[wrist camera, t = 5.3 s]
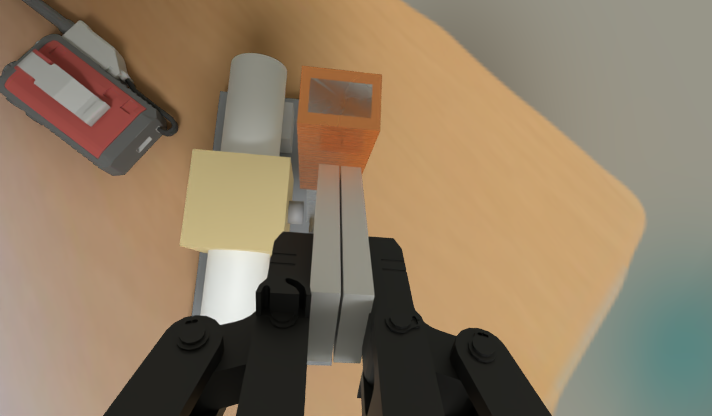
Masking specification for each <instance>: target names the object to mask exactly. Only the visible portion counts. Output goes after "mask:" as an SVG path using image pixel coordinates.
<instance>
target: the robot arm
mask: <svg viewBox="0 0 712 416" xmlns="http://www.w3.org/2000/svg"><path fill="white" fill-rule="evenodd" d="M333 344H334V362H341V363H360V362H361V357H362V359H363V372H362V376H361V381H360V385H359V390H358V395H357V398H361V401H362V416H552V415H551V414H550V412H549V411H548V409H547V408H546V406H545V405H544V403H543V402H542V400H541V399H540V397H539V396H538V394H537V393H536V391H535V390H534V388H533V387H532V386H531V384H530V383H529V381H528V380H527V378H526V377H525V375H524V374H523V372H522V371H521V369H520V368H519V366H518V365H517V363H516V362H515V360H514V359H513V357H512V356H511V354H510V353H509V351H508V350H507V348H506V347H505V345H504V344H503V343H502V342H501V341H500V340H499V339H498V338H497V337H496V336H494V335H493V334H491V333H490V332H488V331H485V330H482V329H479V328H468V329H465V330H462V331H461V332H460V333H459V334H458V335H457V336H454V335H451V334H448V333H445V332H442V331H439V330H437V329H434V328H432V327H430V326H429V325H427V324H426V323H425V322H424V321H423V319H422V317H421V316H420V315H419V314H418V313H417V312H416V311H415V308H414V305H413V300H412V295H411V291H410V286H409V281H408V276H407V272H406V267H405V263H404V257H403V253H402V249H401V247H400V246H399V245H398V244H397V242H396V241H395V240H394V238H381V237H368V229H367V220H366V211H365V202H364V192H363V183H362V174H361V168H360V167H349V166H341V170H340V179H339V166H338V165H327V164H319V170H318V182H317V194H316V206H315V219H314V231H313V234H312V233H299V232H285V231H283V232H282V233H281V234H280V235H279V236H278V237H277V238H276V240H275V241H274V245H273V250H272V255H271V260H270V265H269V270H268V275H267V279H265V280H264V281H263V282H262V283H260V284H259V286H258V288H257V290H256V311H255V312H254V313H253V314H251V315H250V316H248V317H246V318H244V319H242V320H239V321H236V322H231V323H227V324H222V325H220V324H219V323H218V322H217V321H216V320H215V319H213V318H210V317H208V316H201V315H194V316H190V317H185V318H183V319H181V320H179V321H177V322H175V323H174V324H173V325H171V326H170V327H169V328H168V329H167V330H166V331H165V333H164V334H163V335H162V337H161V338H160V340H159V341H158V342H157V344H156V345H155V346H154V348H153V349H152V350H151V352H150V353H149V354H148V356H147V357H146V358H145V360H144V361H143V362H142V364H141V365H140V367H139V368H138V369H137V371H136V372H135V373H134V375H133V376H132V377H131V379H130V380H129V381H128V383H127V384H126V385H125V387H124V388H123V389H122V391H121V392H120V394H119V395H118V396H117V398H116V399H115V400H114V402H113V403H112V404H111V406H110V407H109V408H108V410H107V411H106V412H105V414H104V415H103V416H223V414H224V412H225V410H226V407H228V406H232V405H235V404H238V408H237V413H236V416H304V406H305V389H306V371H307V361H316V362H331V358H332V351H333Z"/></svg>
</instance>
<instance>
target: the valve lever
mask: <svg viewBox="0 0 712 416" xmlns="http://www.w3.org/2000/svg"><path fill="white" fill-rule="evenodd" d="M381 90H382V75H381V74H372V73H363V72H354V71H345V70H336V69H327V68H318V67H309V66H302V72H301V84H300V95H299V106H298V117H297V135H298V158H299V180H300V189H307V214H306V221H308V222H309V232H308V233H312V234H313V231H314V219H315V206H316V194H317V182H318V170H319V164H327V165H338V166H339V179H340V170H341V166H349V167H360V168H361V174H362V173H363V171H364V168H365V166H366V164H367V161H368V159H369V156H370V154H371V152H372V149H373V147H374V144H375V142H376V139H377V137H378V135H379V132H380V119H381Z"/></svg>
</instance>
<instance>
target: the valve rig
mask: <svg viewBox="0 0 712 416" xmlns="http://www.w3.org/2000/svg"><path fill="white" fill-rule="evenodd" d="M286 80H287V69H286V67H285V66H284V65H283V64H282V63H281V62H280V61H278V60H276V59H274V58H272V57H270V56H267V55H263V54H257V53H244V54H240V55H237V56H235V57H234V58H233V59H232V62H231V69H230V77H229V86H228V92H223V91H220V97H219V105H218V113H217V121H216V129H215V137H214V145H213V151H211V150H200V149H193V151H192V158H191V166H190V173H189V180H188V188H187V195H186V202H185V210H184V217H183V224H182V232H181V239H180V246H182V247H186V248H189V249H193V250H196V251H199V252H200V255H199V263H198V271H197V279H196V287H195V295H194V303H193V311H192V316H194V315H201V316H208V317H210V318H213V319H215V320H216V321H217V322H218V323H219V324H220V325H222V324H227V323H231V322H236V321H239V320H242V319H244V318H246V317H248V316H250V315H251V314H253V313H254V312H255V311H256V290H257V288H258V286H259V284H260V283H262V282H263V281H264V280H265V279H267V275H268V270H269V265H270V260H271V255H272V250H273V245H274V241H275V240H276V238H277V237H278V236H279V235H280V234H281V233H282V232H283V231H285V232H299V233H308V232H309V222H308V221H306V214H307V189H300V180H299V158H298V135H297V117H298V106H299V99H291V98H285V90H286ZM331 364H332V358H331V362H316V361H307V365H331Z"/></svg>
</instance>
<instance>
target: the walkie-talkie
mask: <svg viewBox="0 0 712 416" xmlns="http://www.w3.org/2000/svg"><path fill="white" fill-rule="evenodd" d="M22 1H24V2H25V3H26V4H28V5H29V6H30V7H31V8H33V9H34V10H35V11H37V12H38V13H39V14H41V15H42V16H43V17H45V18H46V19H47V20H49V21H50V22H51V23H52V24H54V25H55V26H56V27H58V28H59V30H60V31H61V32H62V33H63V34H64V35H62V36H60V35H59V34H50V35H48V36H45V37H43V38H42V39H41V40H40V41H37V42H36V44H35V45H34V46H33V47H32V48H31V49H30V50H29V51H28V52H27V53H25V54H24V55H23V56H22V57H21V58H20V59H19V60H18V61H14V62H11V63H9V64H8V65H6V66H5V68H4V69H3V71H2V75H1V76H0V93H2V94H3V95H4V96H6V97H7V98H6V99H7V100H8V101H9V102H11V103H12V104H13V105H15V106H16V107H18V108H20V109H21V110H24V111H25V112H26V115H27V116H29V117H30V118H31V119H33V120H34V121H36V122H37V123H39V124H41V125H44V126H45V127H46V128H48V129H50V131H51V132H53V133H55V135H57V136H58V137H60V138H61V139H62V140H63V141H65V142H66V143H67V144H69V145H70V146H71V147H72V148H74V149H75V150H77V152H79V153H81V154H82V155H83V156H84V157H86V158H88V160H89V161H91V162H93V164H94V165H96V166H98V168H100V169H102V170H103V171H105V172H107V173H109V174H111V175H113V176H116V175H125V174H126V173H127V172H128V171H129V170H130V168H131V167H132V166H133V165H134V164H135V163H136V162H137V161H138V160H139V159H140V158H141V157H142V156H143V155H144V154H145V153H146V152H147V150H148V149H149V148H150V147H151V146H152V145H153V144H154V143H155V142H156V141H157V140H158V139H159V138H160V137H161V136H162V135H165V136H172V135H174V134H175V133H177V131H178V124H177V122H176V121H175V120H174V119H173V117H171V116H170V115H169V114H167V113H166V112H165V111H164V110H162V109H161V108H160V107H158V106H157V105H156V104H154V103H153V102H152V101H150V100H149V99H148V98H146V97H145V96H144V95H143V94H141V93H140V92H139V91H138V90H137V89H136V87H135V85H134V84H133V82H134V81H133V80H132V79H131V78H130V76H129V75H128V73H127V69H126V64H125V61H124V58H123V57H122V56H121V55H120V54H119V52H118V51H117V50H116V49H115V48H114V47H113V46H111V45H110V44H109V43H108V42H106V41H105V40H104V39H102V38H101V37H100V36H98V35H97V34H96V33H94V32H93V31H92V29H91V28H90V27H89V26H88V25H87V24H85V23H84V22H83V21H81V20H79V21H78V22H77V23H76V24H75V23H74V22H72V21H71V20H69V19H66V18H64V17H63V16H62V15H61V14H59V13H58V12H57V11H55V10H54V9H53V8H51V7H50V6H49V5H47V4H46V3H45V2H43V1H42V0H22ZM127 86H128V87H130V89H128V87H127ZM164 117H165V118H166V119H167V120H169V121H170V122H171V124H172V127H171V128H170V129H169V130H167V124H166V119H165V118H164Z"/></svg>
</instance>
